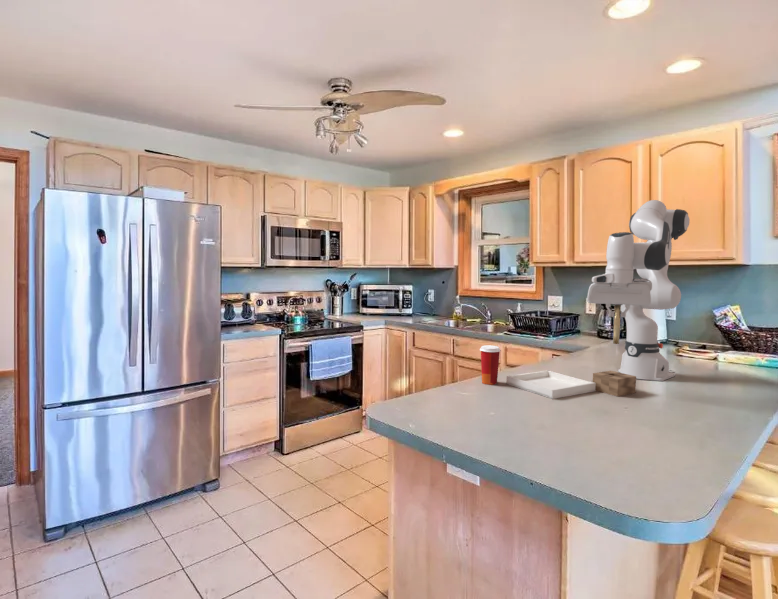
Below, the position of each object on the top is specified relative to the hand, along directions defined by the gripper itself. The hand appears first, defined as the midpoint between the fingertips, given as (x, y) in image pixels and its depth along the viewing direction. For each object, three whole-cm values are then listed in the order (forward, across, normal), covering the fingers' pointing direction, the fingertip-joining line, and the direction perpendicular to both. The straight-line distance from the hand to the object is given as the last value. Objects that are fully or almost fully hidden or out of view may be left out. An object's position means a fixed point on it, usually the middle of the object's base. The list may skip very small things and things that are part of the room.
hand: (617, 316), depth 161 cm
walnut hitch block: (+27, 0, 0) cm, 27 cm away
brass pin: (+10, 0, 0) cm, 10 cm away
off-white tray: (+27, +22, +4) cm, 35 cm away
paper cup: (+27, +44, +7) cm, 52 cm away
